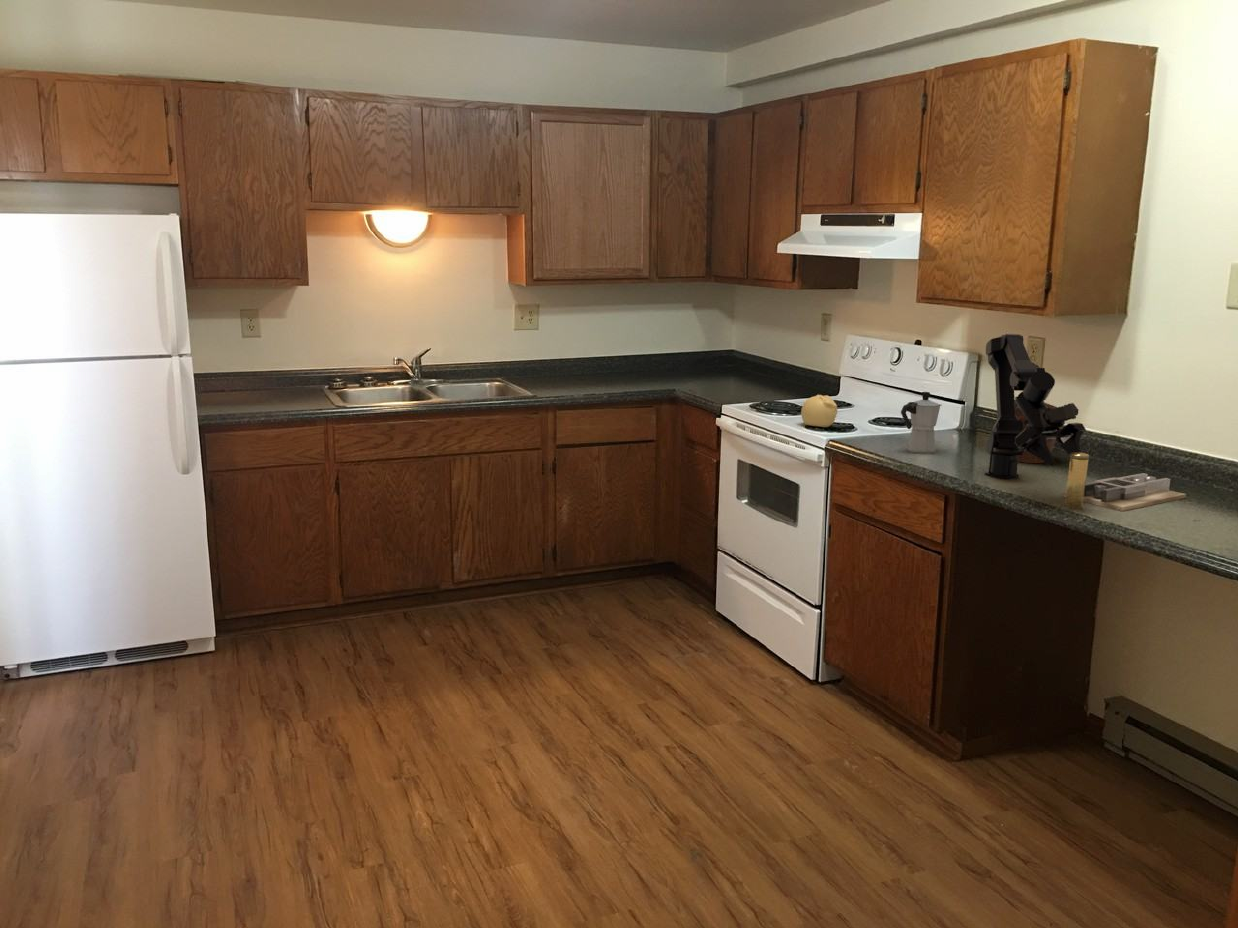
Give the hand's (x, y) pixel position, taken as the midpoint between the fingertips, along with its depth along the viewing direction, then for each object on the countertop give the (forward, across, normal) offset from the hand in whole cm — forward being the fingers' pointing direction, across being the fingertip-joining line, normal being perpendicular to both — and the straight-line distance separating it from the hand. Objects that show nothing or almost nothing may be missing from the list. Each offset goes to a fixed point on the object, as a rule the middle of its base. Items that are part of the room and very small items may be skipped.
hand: (1067, 464), depth 242 cm
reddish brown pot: (-23, +34, +37) cm, 55 cm away
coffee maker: (-37, +11, +51) cm, 64 cm away
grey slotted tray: (+7, +21, +6) cm, 23 cm away
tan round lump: (-69, +8, +83) cm, 108 cm away
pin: (+9, 0, +5) cm, 10 cm away
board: (+8, +21, +6) cm, 23 cm away
